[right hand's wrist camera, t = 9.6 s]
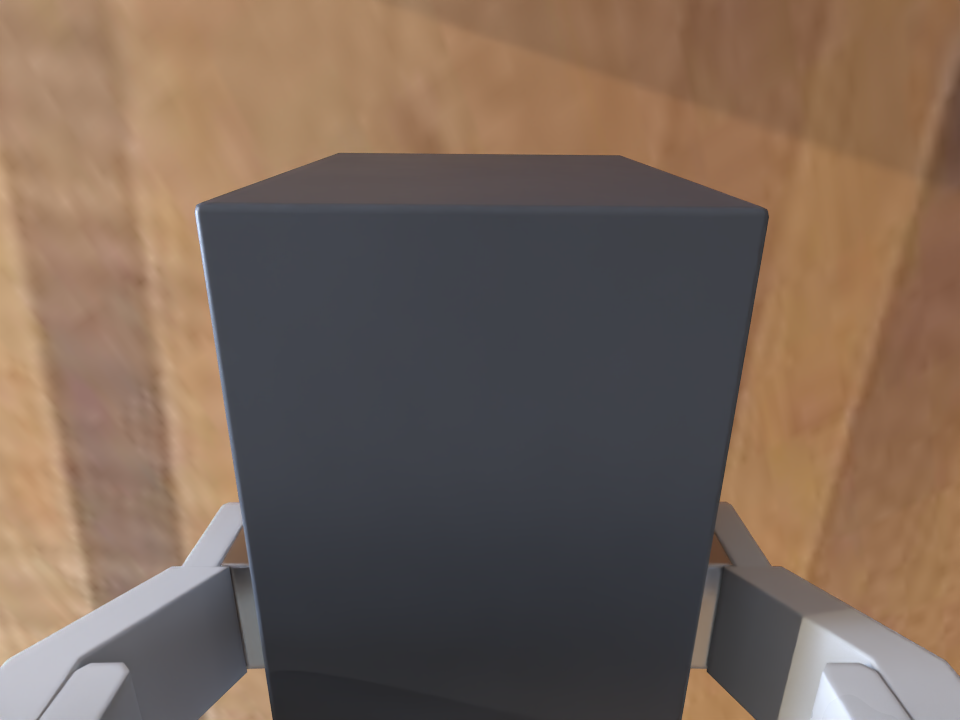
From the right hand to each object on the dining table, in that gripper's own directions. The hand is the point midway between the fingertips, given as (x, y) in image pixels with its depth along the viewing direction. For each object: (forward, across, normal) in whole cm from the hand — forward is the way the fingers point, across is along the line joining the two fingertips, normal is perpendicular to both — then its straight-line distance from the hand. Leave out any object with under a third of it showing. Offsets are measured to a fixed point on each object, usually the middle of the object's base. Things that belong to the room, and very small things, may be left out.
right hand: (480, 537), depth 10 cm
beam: (+3, 0, -32) cm, 32 cm away
